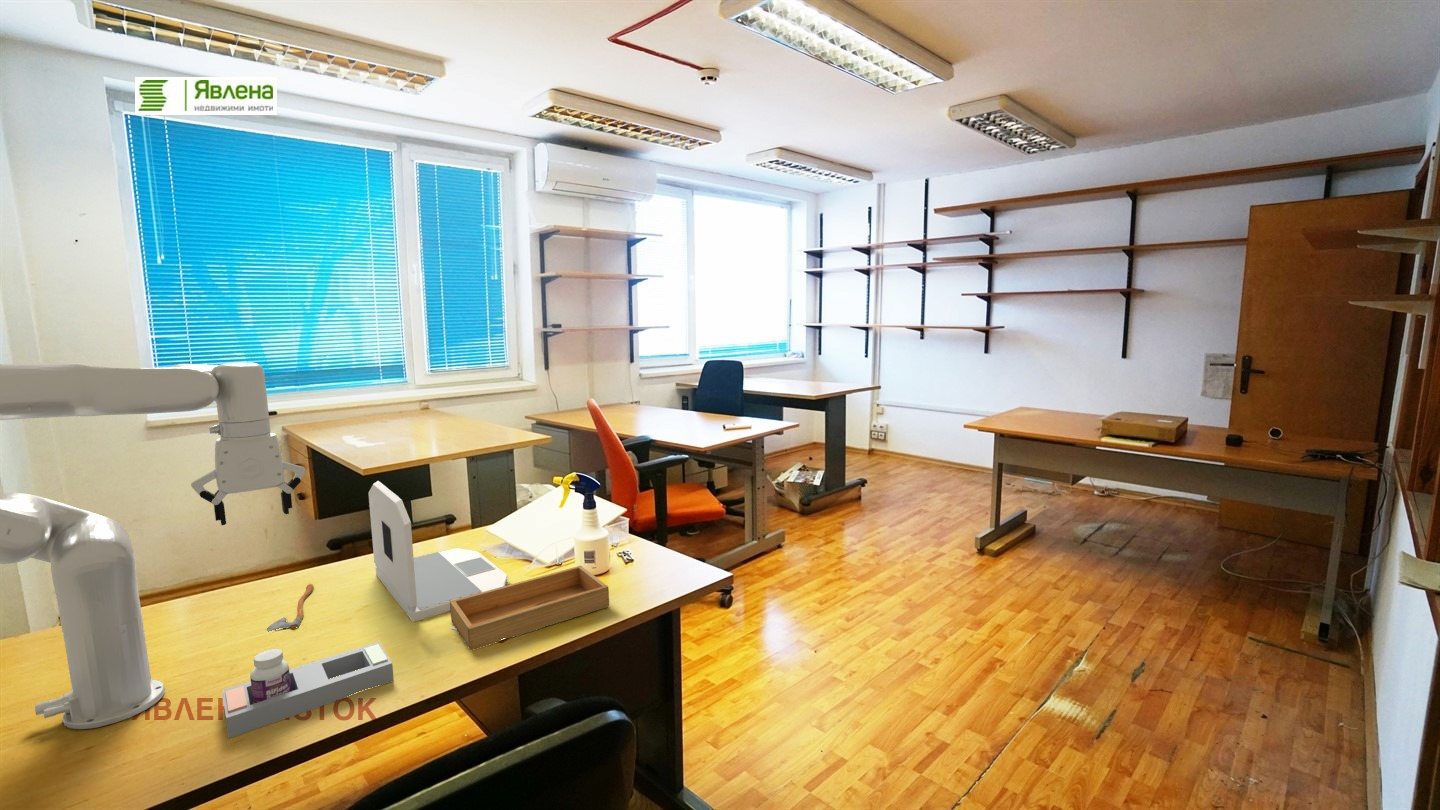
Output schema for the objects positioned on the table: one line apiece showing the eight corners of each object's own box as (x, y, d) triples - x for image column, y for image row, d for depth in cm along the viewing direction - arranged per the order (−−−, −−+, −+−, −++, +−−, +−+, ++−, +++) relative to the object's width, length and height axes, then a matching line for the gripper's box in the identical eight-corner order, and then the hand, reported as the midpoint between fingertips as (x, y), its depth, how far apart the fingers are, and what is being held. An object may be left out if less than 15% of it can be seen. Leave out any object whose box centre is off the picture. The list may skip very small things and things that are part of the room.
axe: (283, 593, 152) (282, 586, 152) (314, 589, 155) (314, 582, 155) (262, 636, 132) (262, 628, 132) (299, 631, 135) (299, 623, 135)
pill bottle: (272, 719, 104) (266, 665, 103) (246, 714, 105) (239, 661, 104) (300, 699, 110) (294, 648, 108) (274, 695, 111) (269, 644, 109)
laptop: (518, 591, 153) (513, 486, 149) (411, 623, 137) (402, 506, 133) (469, 552, 178) (464, 461, 174) (374, 576, 162) (366, 476, 158)
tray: (470, 653, 125) (468, 626, 125) (451, 623, 137) (449, 598, 137) (609, 609, 143) (609, 586, 143) (581, 587, 155) (581, 565, 155)
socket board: (228, 738, 100) (225, 716, 99) (224, 708, 107) (221, 688, 107) (393, 680, 115) (392, 661, 115) (380, 658, 123) (378, 640, 122)
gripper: (185, 438, 108) (197, 533, 111) (303, 426, 120) (312, 513, 122) (184, 432, 114) (196, 522, 117) (297, 421, 125) (306, 504, 128)
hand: (255, 517), depth 119 cm, fingers open, 9 cm apart
